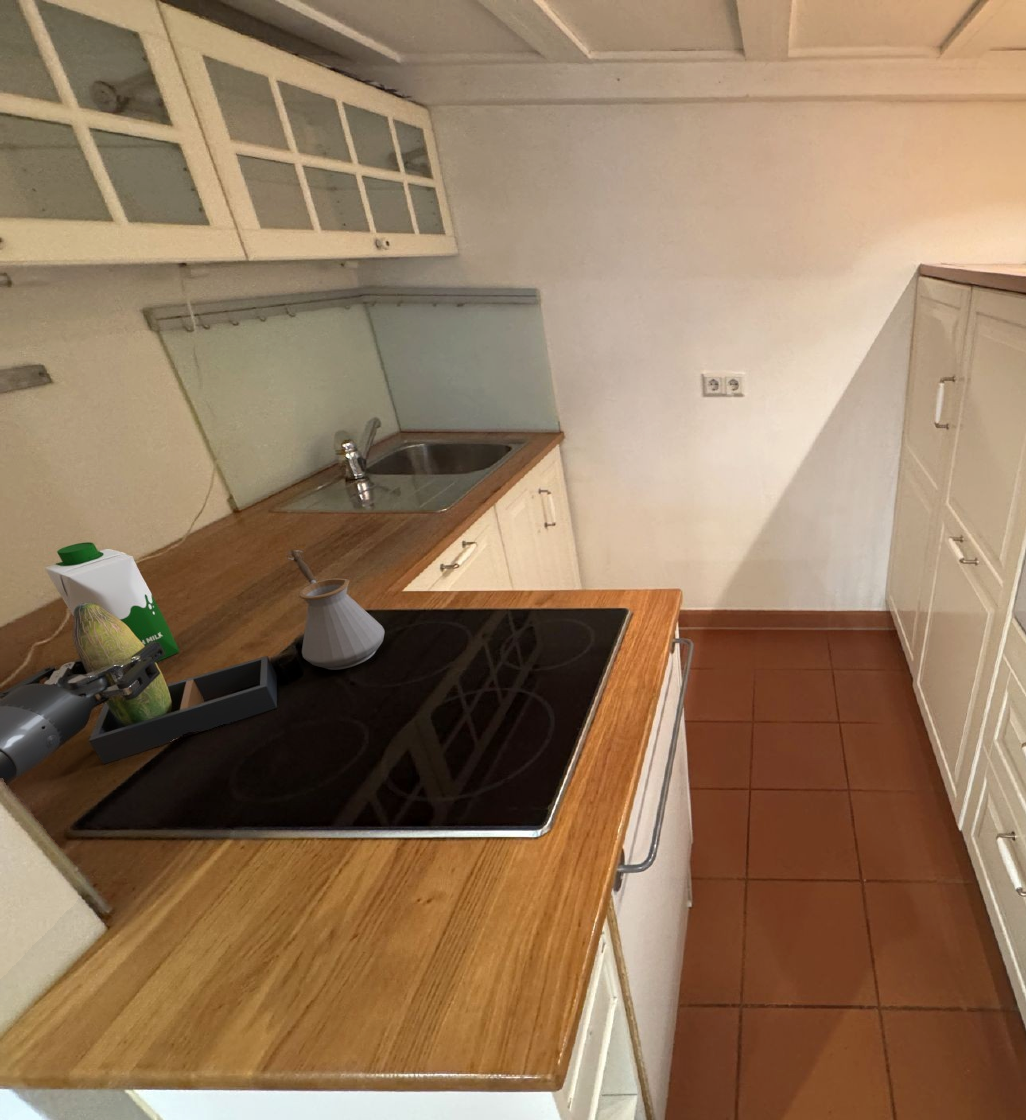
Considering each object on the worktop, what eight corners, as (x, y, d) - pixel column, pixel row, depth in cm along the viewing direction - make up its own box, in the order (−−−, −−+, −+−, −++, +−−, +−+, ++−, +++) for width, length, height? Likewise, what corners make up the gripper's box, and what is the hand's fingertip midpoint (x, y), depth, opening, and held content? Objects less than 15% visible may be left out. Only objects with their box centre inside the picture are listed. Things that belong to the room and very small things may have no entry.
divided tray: (103, 764, 79) (88, 740, 77) (118, 724, 86) (104, 702, 85) (276, 708, 89) (266, 685, 87) (277, 676, 96) (267, 655, 94)
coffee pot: (400, 653, 101) (372, 572, 94) (320, 686, 93) (283, 601, 87) (357, 611, 114) (330, 537, 107) (284, 637, 106) (250, 560, 100)
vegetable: (194, 710, 89) (129, 589, 80) (175, 737, 84) (103, 611, 75) (142, 720, 87) (70, 598, 78) (119, 749, 82) (39, 622, 73)
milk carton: (161, 639, 107) (105, 534, 98) (189, 650, 103) (133, 543, 94) (96, 666, 99) (28, 556, 91) (123, 679, 96) (56, 566, 87)
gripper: (71, 700, 67) (178, 620, 82) (-82, 716, 65) (57, 632, 80) (105, 752, 70) (202, 666, 85) (-40, 768, 68) (86, 678, 83)
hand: (131, 650), depth 82 cm, fingers closed on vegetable, 6 cm apart
